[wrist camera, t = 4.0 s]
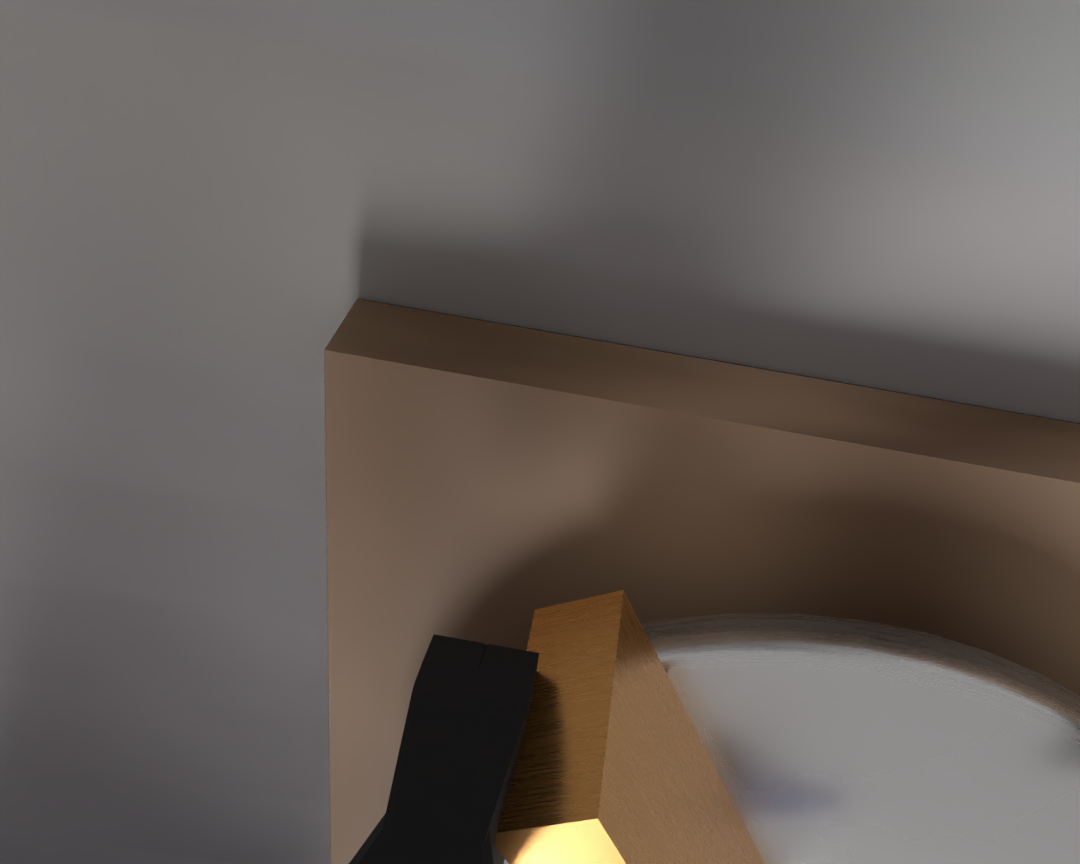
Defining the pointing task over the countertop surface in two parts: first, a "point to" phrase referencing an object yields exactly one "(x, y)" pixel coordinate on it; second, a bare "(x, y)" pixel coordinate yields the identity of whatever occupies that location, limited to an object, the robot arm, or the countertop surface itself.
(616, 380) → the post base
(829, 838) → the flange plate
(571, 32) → the countertop surface
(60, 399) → the countertop surface
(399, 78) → the countertop surface
